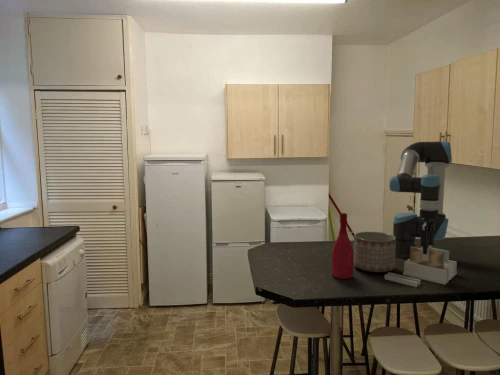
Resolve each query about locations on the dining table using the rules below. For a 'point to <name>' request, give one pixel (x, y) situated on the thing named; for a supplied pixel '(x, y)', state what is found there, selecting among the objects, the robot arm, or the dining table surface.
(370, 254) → the planter
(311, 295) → the dining table surface
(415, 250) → the oak board
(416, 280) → the board stand
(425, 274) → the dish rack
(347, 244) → the wine bottle
